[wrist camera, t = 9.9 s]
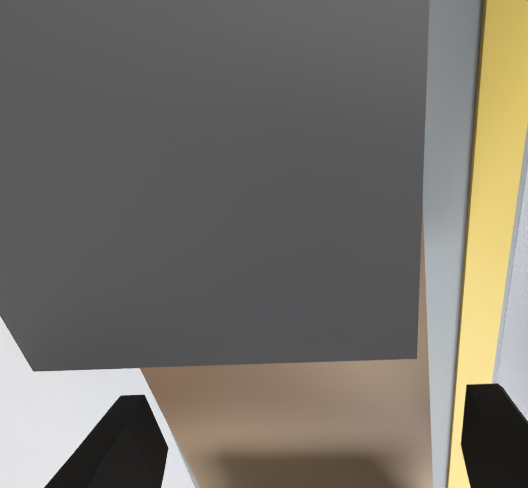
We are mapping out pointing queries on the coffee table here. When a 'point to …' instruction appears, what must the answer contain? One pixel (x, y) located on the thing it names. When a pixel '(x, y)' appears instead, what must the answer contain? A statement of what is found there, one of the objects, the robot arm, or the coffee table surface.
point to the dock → (469, 203)
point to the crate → (211, 180)
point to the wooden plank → (304, 420)
